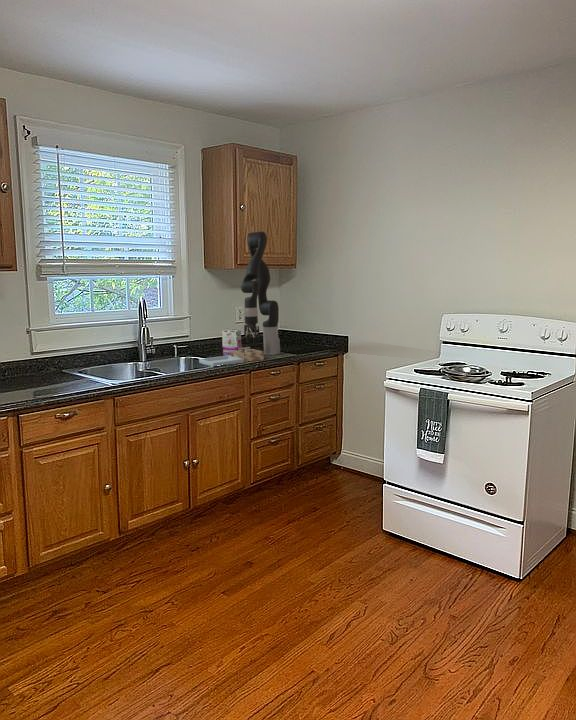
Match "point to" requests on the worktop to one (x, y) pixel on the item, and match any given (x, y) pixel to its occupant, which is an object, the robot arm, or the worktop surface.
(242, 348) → the steel T-stake
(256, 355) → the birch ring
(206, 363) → the tray
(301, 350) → the worktop surface
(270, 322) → the robot arm
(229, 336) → the candy bar box
